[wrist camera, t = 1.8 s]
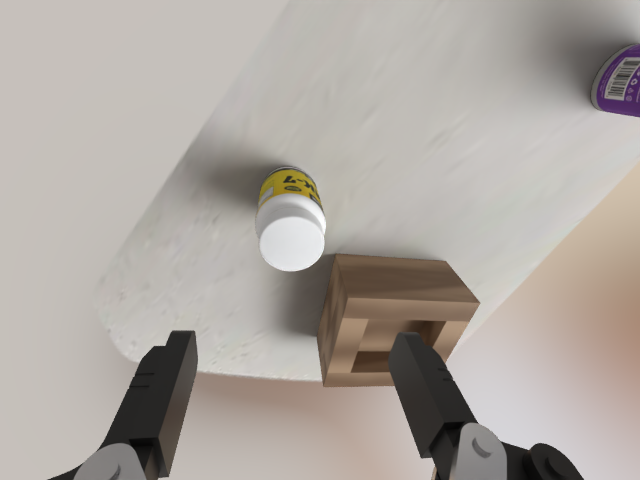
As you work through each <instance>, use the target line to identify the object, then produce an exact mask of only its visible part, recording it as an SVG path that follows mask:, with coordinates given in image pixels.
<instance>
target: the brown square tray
mask: <svg viewBox="0 0 640 480" xmlns="http://www.w3.org/2000/svg"><path fill="white" fill-rule="evenodd" d="M479 305H480V302H479V301H478V299H477V298H476V297H475V296H474V295H473V293H472V292H471V291H470V290H469V288H468V287H467V286H466V285H465V284H464V282H463V281H462V280H461V279H460V278H459V276H458V275H457V274H456V273H455V272H454V270H453V269H452V268H451V267H450V265H449V264H448V263H447V262H446V261H435V260H420V259H406V258H392V257H377V256H363V255H348V254H335V258H334V263H333V267H332V272H331V276H330V280H329V285H328V289H327V294H326V298H325V303H324V307H323V311H322V316H321V320H320V325H319V329H318V334H317V343H318V351H319V358H320V365H321V373H322V380H323V386H324V387H358V386H395V385H394V382H393V379H392V377H391V374H390V371H389V366H388V357H389V354H390V351H391V349H392V346H393V344H394V341H395V338H396V336H397V334H398V333H399V332H417V333H419V335H420V336H421V338H422V340H423V342H424V344H425V346H429V345H430V346H431V347H432V348H433V349H434V350H435V351H436V352H437V353H438V354H439V355H440V356H441V358H442V359H443V361H444V363H445V362H446V361H447V359H448V357H449V356H450V354H451V352H452V350H453V349H454V347H455V345H456V344H457V342H458V340H459V339H460V337H461V335H462V334H463V332H464V330H465V328H466V327H467V325H468V323H469V322H470V320H471V318H472V317H473V315H474V313H475V311H476V310H477V308H478V306H479Z"/></svg>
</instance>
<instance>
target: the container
mask: <svg viewBox="0 0 640 480" xmlns="http://www.w3.org/2000/svg"><path fill="white" fill-rule="evenodd" d="M591 101H592V103H593V105H594V107H595V108H596V109H598V110H600V111H605V112H610V113H616V114H622V115H629V116H635V117H640V44H633V45H629V46H627V47H624V48H623V49H621V50H619V51H618V52H616V53H615V54H614V55H613V56H611V57H610V58H609V59H608V60H607V61H606V63H605V64H604V65H603V66H602V68H601V69H600V70H599V72H598V74H597V76H596V78H595V80H594V82H593V85H592V89H591Z"/></svg>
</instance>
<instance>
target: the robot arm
mask: <svg viewBox="0 0 640 480" xmlns="http://www.w3.org/2000/svg"><path fill="white" fill-rule="evenodd" d="M197 364H198V355H197V345H196V335H195V331H172V332H171V334H170V336H169V338H168V341H167V343H166V346H154V347H153V348H152V349H151V350H150V351H149V352H148V353H147V354H146V355H145V356H144V357H143V358H142V360H141V362H140V364H139V366H138V369H137V371H136V373H135V377H133V379H132V381H131V384H130V386H129V389H128V390H127V392H126V394H125V397H124V399H123V401H122V403H121V405H120V408H119V410H118V412H117V414H116V416H115V418H114V421H113V423H112V425H111V427H110V430H109V431H108V434H107V436H106V438H105V440H104V442H103V443H102V445H101V446H100V447H99V449H98V450H97V451H96V452H95V453H94V454H93V455H91V456H90V457H89V458H88V459H87V460H86V461H85V462H84V463H82V464H81V465H80V466H78V467H76V468H75V469H73V470H71V471H69V472H67V473H64V474H61V475H59V476H56V477H53V478H51V479H48V480H158V478H162V477H169V474H170V470H171V466H172V462H173V459H174V455H175V451H176V447H177V444H178V440H179V436H180V432H181V428H182V425H183V421H184V417H185V413H186V410H187V405H188V402H189V398H190V394H191V391H192V386H193V383H194V379H195V375H196V371H197ZM388 366H389V371H390V374H391V377H392V379H393V382H394V385H395V388H396V390H397V393H398V396H399V399H400V401H401V404H402V407H403V409H404V412H405V415H406V418H407V421H408V423H409V426H410V429H411V432H412V434H413V437H414V440H415V442H416V446H417V448H418V451H419V454H420V457H421V458H431V457H432V458H433V461H434V464H435V467H434V469H433V474H432V479H431V480H584V479H583V478H582V476H581V475H580V473H579V472H578V471H577V469H576V468H575V466H574V465H573V464H572V462H570V460H569V459H568V458H567V457H566V456H565V455H564V454H562V453H561V452H560V451H558V450H557V449H556V448H554V447H552V446H550V445H547V444H542V443H538V444H535V445H534V446H533V447H532V448H531V449H530V450H527V449H523V448H520V447H517V446H514V445H510V444H507V443H504V442H501V441H500V440H499V439H498V438H497V437H496V435H495V434H494V433H493V432H492V431H490V430H489V429H488V428H486V427H484V426H482V425H480V424H479V423H478V422H477V420H476V419H475V418H474V415H473V413H472V412H471V410H470V408H469V406H468V404H467V403H466V401H465V399H464V397H463V395H462V394H461V392H460V390H459V388H458V386H457V385H456V383H455V381H453V378H452V376H451V374H450V372H449V371H448V370H447V367H446V365H445V363H444V361H443V359H442V358H441V356H440V355H439V354H438V353H437V352H436V351H435V350H434V349H433V348H432V347H431V346H430V345H429V346H425V344H424V342H423V340H422V338H421V336H420V335H419V333H417V332H399V333H398V334H397V336H396V338H395V341H394V344H393V346H392V349H391V351H390V354H389V357H388Z"/></svg>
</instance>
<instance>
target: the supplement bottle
mask: <svg viewBox="0 0 640 480" xmlns="http://www.w3.org/2000/svg"><path fill="white" fill-rule="evenodd" d="M255 229H256V233H257V236H258V238H259V250H260V253H261V255H262V257H263V258H264V260H265V261H266V262H267V263H268V264H270V265H271V266H273V267H275V268H277V269H279V270H283V271H299V270H303V269H305V268H308V267H310V266H311V265H313V264H314V263H315V262H316V261H317V260H318V259H319V258H320V256H321V254H322V252H323V249H324V234H325V229H326V221H325V215H324V212H323V209H322V205H321V201H320V198H319V195H318V191H317V188H316V185H315V182H314V181H313V179H312V178H311V177H310V176H309V175H308V174H307V173H306V172H304V171H302V170H300V169H298V168H294V167H282V168H279V169H276V170H274V171H273V172H271V173H270V174H269V175H268V176H267V177H266V178H265V179H264V181H263V183H262V186H261V190H260V196H259V201H258V207H257V213H256V219H255Z"/></svg>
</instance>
